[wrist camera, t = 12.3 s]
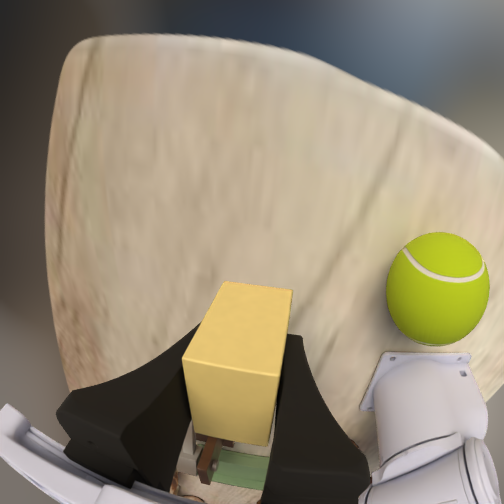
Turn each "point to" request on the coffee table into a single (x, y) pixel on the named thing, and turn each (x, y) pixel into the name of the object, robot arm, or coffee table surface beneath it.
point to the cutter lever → (189, 453)
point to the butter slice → (238, 362)
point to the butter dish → (241, 469)
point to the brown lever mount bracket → (210, 456)
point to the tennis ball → (437, 289)
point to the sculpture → (193, 498)
